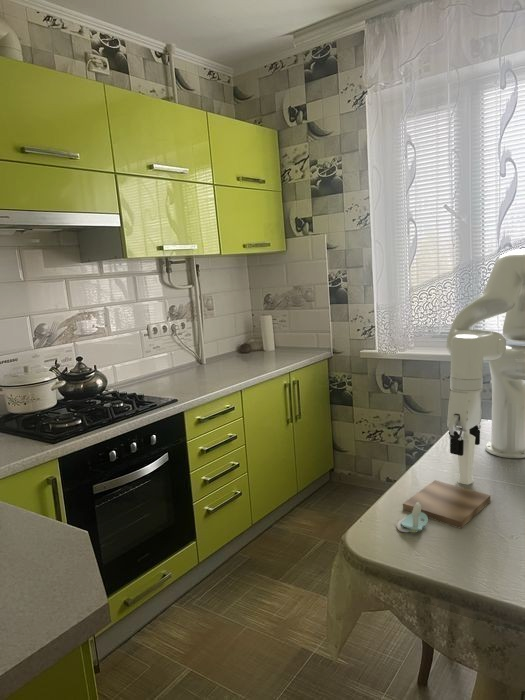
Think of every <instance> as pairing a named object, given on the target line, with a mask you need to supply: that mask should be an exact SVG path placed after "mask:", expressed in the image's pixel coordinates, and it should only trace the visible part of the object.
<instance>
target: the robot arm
mask: <svg viewBox="0 0 525 700" xmlns="http://www.w3.org/2000/svg"><path fill="white" fill-rule="evenodd" d="M483 289H484V290H483V292H482V294H481V295H480V296H479V297H477V298H476V299H475V300H473V301H472V302H470V303H469V304H468V305H467V306H465V307H464V308H463V309H462V310H460V312H459V313H457V315H456V316H455V318H454V320H453V322H452V325H451V326H450V329H449V332H448V334H447V338H446V349H447V352H448V353H449V354H450V377H449V378H450V381H449V382H450V383H449V385H450V386H449V387H450V394H449V398H448V399H449V400H448V407H447V408H448V409H447V410H448V411H447V421H446V423H447V428H448V429H447V430H448V435H449V440H450V441H449V443H450V444H449V453H450V454H451V455H456V456H458V455H460V456H462V455H463V449H464V440H462V438H463V435H464V431H467V430H469V434H471V435H473V436H475V446H479V445H480V444H481V443H480V441H481V427H482V426H481V422H482V415H483V413H482V412H483V410H482V396H481V394H482V393H481V392H483V383H484V382H483V381H484V380H483V375H484V373H483V372H484V362H487V361H488V365H489V371H490V378H491V441H487V443H486V444H485V450H486V452H488V453H489V454H492V455H494V456H496V457H500V458H505V459H525V384H524V382H523V381H525V345H522V344H525V248H521V249H514V250H511V251H509V252H506V253H504V254H501V255H499V257H498V258H497V259H496V261H495V262H494V265H493V267H492V270H491V273H490V274H489V278H488V280H487V282H486V284H485V287H484V288H483ZM502 314H505V318H504V321H503V325H502V334H501V333H500V332H497V331H494V330H492V331H491V330H479V329H478V330H477V329H472V328H473V327H474V326H475V325H477V324H478V323H480V322H482V321H484V320H487V319H491V318H494V317H496V316H499V315H502ZM507 341H509V342H511V343H516V344H507ZM517 343H518V344H521V345H517Z"/></svg>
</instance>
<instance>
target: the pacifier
mask: <svg viewBox="0 0 525 700" xmlns="http://www.w3.org/2000/svg"><path fill="white" fill-rule="evenodd" d="M428 521H429V518H428V517H427V515H426V514H425V513H423V512H421V505H420V504H419V503H418V502H417V503H416V504H415V506H414V508H413V511H412V512H411V513H409V514H408V515H407V516H405V517H404V518H402V519H400V520H398V522H397V523H396V529H397V530H398V531H399V532H401V533H417V532H419V531H422V530H423V528H424V527H425V526H427V524H428ZM402 526H403V527H405V528H403V527H402ZM418 530H419V531H418ZM416 531H417V532H416Z"/></svg>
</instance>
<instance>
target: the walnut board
mask: <svg viewBox="0 0 525 700" xmlns="http://www.w3.org/2000/svg"><path fill="white" fill-rule="evenodd" d="M491 497H492V496H491V495H490V494H487V493H483V492H480V491H477V490H472V489H469V488H466V487H461V486H458V485H454V484H450V483H446V482H443V481H440V480H435V479H434V480H433V481H431V483H429V484H428V485H426V486H425V487H424V488H422V489H420V490H419V491H418V492H416V493H415V494H414V495H412V496H411V497H409V498H408V499H407V500H405V501H404V502H403V503H402V510H404V511H406V512H410V513H412V511H413V508H414V506H415V504H416V503H417V502H418V503H419V504H420V505H421V512H423V513H425V514H426V515H427V517H428V519H432V520H434V521H437V522H440V523H442V524H446V525H450V526H451V527H455V528H459V529H462V528H463V527H464V526H465V525H466V524H467V523H469V522H470V521H471V520H472V519H473V518H474V517H475V516H476V515H477V514H479V512H480V511H482V510H483V509H484V508H485V507H486V506H487V505H488V504H489V503H491Z"/></svg>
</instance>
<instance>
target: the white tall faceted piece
mask: <svg viewBox="0 0 525 700" xmlns="http://www.w3.org/2000/svg"><path fill="white" fill-rule="evenodd" d="M462 440H464V449H463V455H462V456H460V455H457V457H458V474H459V475H458V478H457V482H458V484H463V485H467V486H468V485H471V484H473V483H474V478H473V469H474V467H473V466H474V460H475V459H474V455H475V446H476V445H475V436H473V435H471V434H469V430H467V431H464V435H463V438H462Z"/></svg>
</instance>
